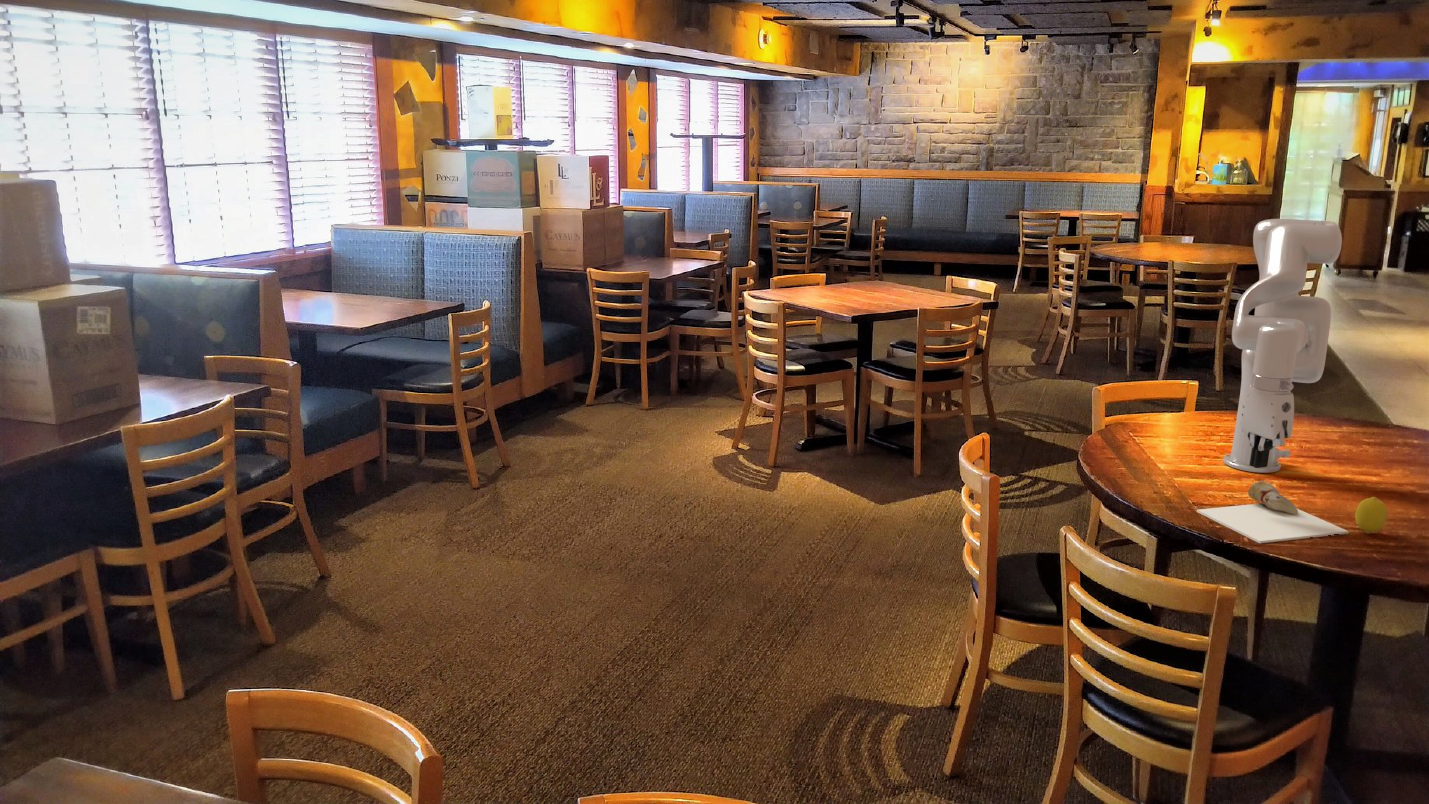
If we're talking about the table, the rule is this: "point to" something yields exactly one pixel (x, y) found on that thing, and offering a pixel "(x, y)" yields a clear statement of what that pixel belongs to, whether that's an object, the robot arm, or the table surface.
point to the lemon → (1371, 515)
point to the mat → (1270, 523)
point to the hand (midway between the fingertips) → (1258, 466)
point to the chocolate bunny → (1271, 497)
